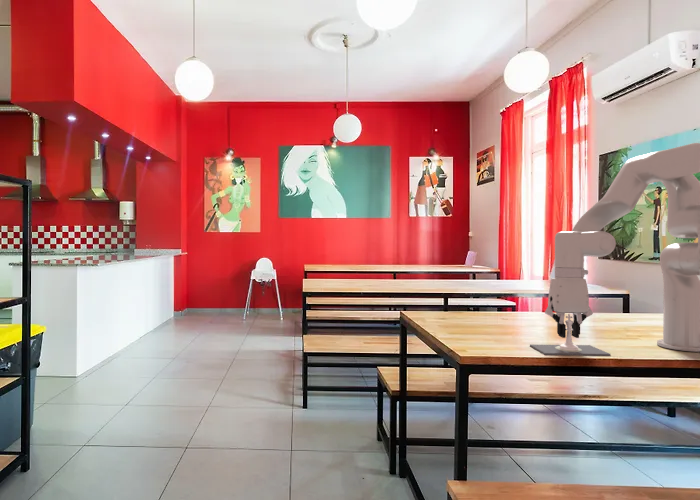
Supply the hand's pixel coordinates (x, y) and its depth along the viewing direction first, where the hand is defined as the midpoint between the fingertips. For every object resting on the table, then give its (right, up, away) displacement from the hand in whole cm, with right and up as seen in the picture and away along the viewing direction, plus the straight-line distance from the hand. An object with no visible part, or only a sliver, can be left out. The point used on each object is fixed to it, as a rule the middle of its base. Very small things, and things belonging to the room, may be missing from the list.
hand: (568, 336), depth 127 cm
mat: (0, -4, 0) cm, 4 cm away
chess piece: (0, -4, 0) cm, 4 cm away
